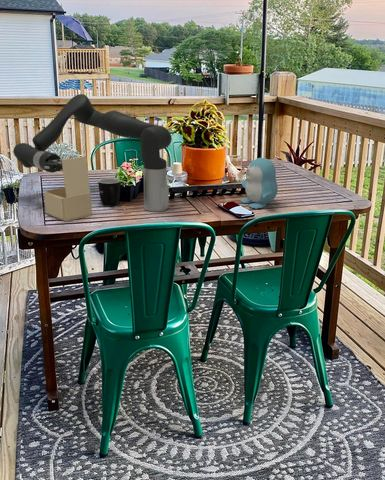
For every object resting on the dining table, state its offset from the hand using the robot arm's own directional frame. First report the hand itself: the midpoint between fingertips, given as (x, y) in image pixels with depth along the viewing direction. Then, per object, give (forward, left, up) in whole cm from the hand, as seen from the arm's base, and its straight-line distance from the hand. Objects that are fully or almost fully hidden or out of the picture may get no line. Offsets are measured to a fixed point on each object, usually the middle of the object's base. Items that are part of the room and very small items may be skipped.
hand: (72, 168), depth 184 cm
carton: (+4, -1, -19) cm, 20 cm away
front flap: (-2, +1, -3) cm, 4 cm away
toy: (-60, -49, -19) cm, 80 cm away
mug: (-4, -19, -19) cm, 28 cm away
